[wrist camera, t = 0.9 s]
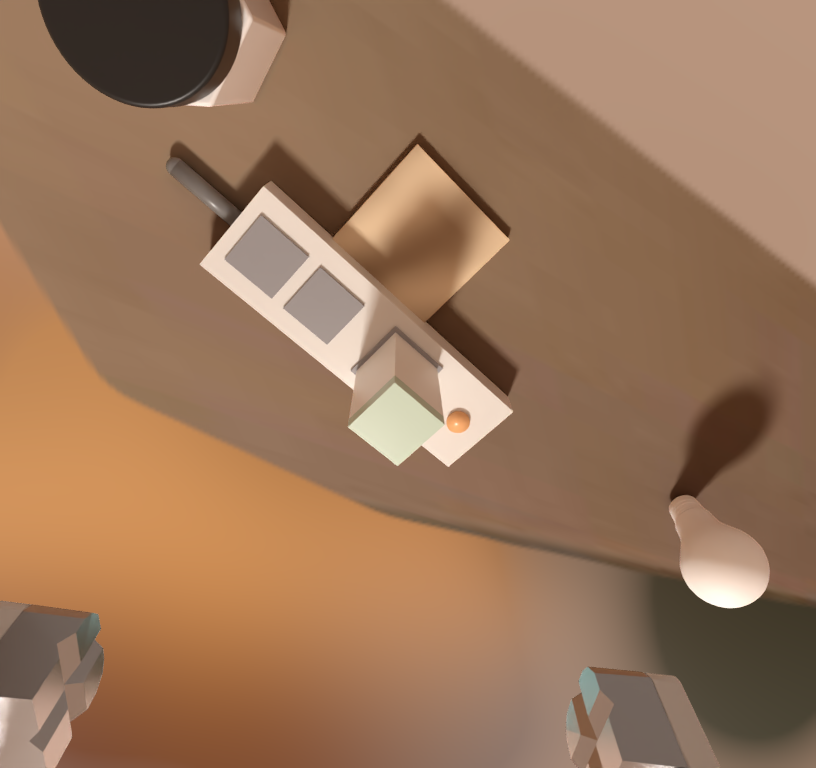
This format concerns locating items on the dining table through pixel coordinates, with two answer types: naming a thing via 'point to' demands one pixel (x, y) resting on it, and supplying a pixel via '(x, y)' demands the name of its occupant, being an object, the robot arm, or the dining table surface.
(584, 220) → the dining table surface
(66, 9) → the jar
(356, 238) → the coaster
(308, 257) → the power strip
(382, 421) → the block
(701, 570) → the lightbulb
